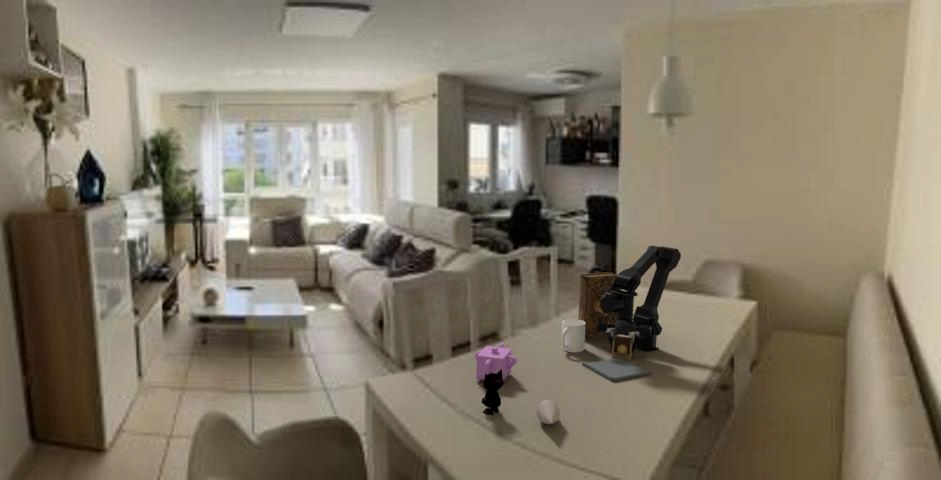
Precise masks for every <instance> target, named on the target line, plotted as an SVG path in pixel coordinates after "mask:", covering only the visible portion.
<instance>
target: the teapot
mask: <svg viewBox="0 0 941 480" xmlns="http://www.w3.org/2000/svg"><path fill="white" fill-rule="evenodd" d="M504 344H505V343H504V341H502V342H500V343H499V346H498V347H497V346H491V345H486V346H485V347H483V348H482V349H481V350H477V352H476V353H475V354H474V358H475V361H476V371H475V372H476V373H475V374H476V376H475V377H476V378H475V379H476V380H481V381H483V379H485V373H486V374H487V375H488V374H489V373H496V374H497V373H498V372H499V371H500V370H501V369H502V378H503V381H504V382H505V381H506V379H507V378H508V376H509V375H510V374H511V372H512V367H514V366H515V365H516V364H517V363H518V358H517V357H515V356H513V355H512V353H513V352H512V351H513V350H512V348H507V347H504Z"/></svg>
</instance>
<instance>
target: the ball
mask: <svg viewBox="0 0 941 480" xmlns="http://www.w3.org/2000/svg"><path fill="white" fill-rule="evenodd" d="M617 352H620V353H628V348H627V346H625V345H619V346H618V347H617Z"/></svg>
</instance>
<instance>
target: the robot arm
mask: <svg viewBox="0 0 941 480" xmlns="http://www.w3.org/2000/svg"><path fill="white" fill-rule="evenodd" d="M681 258H682V254H681V252H680V251H679V249H678V248H675V247H668V246H663V245H662V246H656V245H650V246H648V247H647V249H646V251H645V252H644V253H643V254H642V255H641V256H640V257H639V258H638V259H637V260H636V261H635V262H634V264H633V265H632V266H630V267H629V268H626V269H623V270H621V271H620V272H619V273H618V274H617V276H616V278H615V280H614V282H613V284H612V286H611V288H610V290H609V292H610V293H607V294H605V297H604V298H603V299H602V300H601V302H600V307H601V309H602V311H603V312H604V313H606V314H609V313H614V312H616V320H615V324H609V321H605V320H599V321H598V322H597V324H596V331H599V332H603V334H606V336H607V337H608V338H607V339H608V343H609V346H610V350H611V351H612V344H613V339H614V337H613V330H615V334H616V335H617V336H621V335H622V336H624V337H628V336H629V335H630V333H635V334H634V337H633V347H632V354H634V351H635V350H636V348H638V349H639V350H642V351H643V352H650V351H657V350H660V348H659V347H658V346H657V337H658V336H660V335H661V334H662V331H663V327H662V326H661V324H660V323H659V319H660V316H659V312H658V307H659V305H660V301H661V298H662V295H663V293H664V290H665V287H666V283H667V282H668V278H669V275H670V272H672V271H674V269H675V268H677V267H678V264H679V262H680V260H681ZM654 264H655V266H656V267H655V268H656V269H655V272H654V274H653V277H652V279H651V282H650V285H649V287H648V291H647V293H646V297H645V299H644V302H643V303H642V305H641V306H639V305H637V306H636V308H635V311H634V307H635V306H634V302H635V297H637V296H639V294H638V293H637V291H636V290H637V289H638V288H639V287H640V284H642V282H641V281H642V277H643V276H644V275H646V273H647V272H648V271H649V270H650V268H651V267H652V266H653V265H654ZM617 288H618V289H617ZM619 289H621V290H619Z"/></svg>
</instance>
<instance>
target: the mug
mask: <svg viewBox="0 0 941 480" xmlns="http://www.w3.org/2000/svg"><path fill="white" fill-rule="evenodd" d="M585 326H586V323H585V322H584V321H582V320H578V319H577V318H569V319H568V318H566V319H563V320H562V327H561V329H562V330H561V336H560V345H561V349H562V350H563V351H565V352H567V353H573V354H574V353H576V354H577V353H581V352H583V351H584V350H585V342H586V341H585Z"/></svg>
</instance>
